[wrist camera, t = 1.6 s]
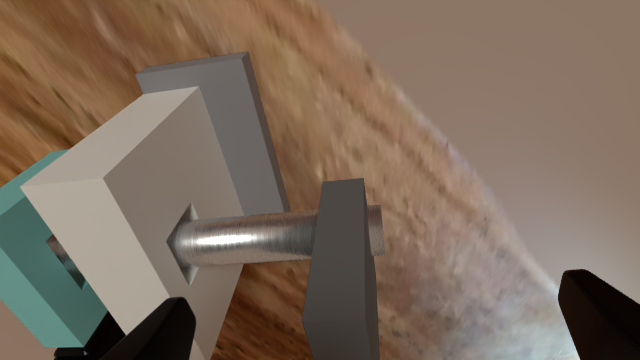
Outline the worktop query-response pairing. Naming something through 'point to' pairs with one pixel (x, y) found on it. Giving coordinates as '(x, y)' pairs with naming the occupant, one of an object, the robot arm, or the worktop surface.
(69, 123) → the worktop surface
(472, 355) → the worktop surface
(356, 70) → the worktop surface
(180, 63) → the bracket
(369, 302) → the shaft
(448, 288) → the worktop surface
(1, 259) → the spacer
